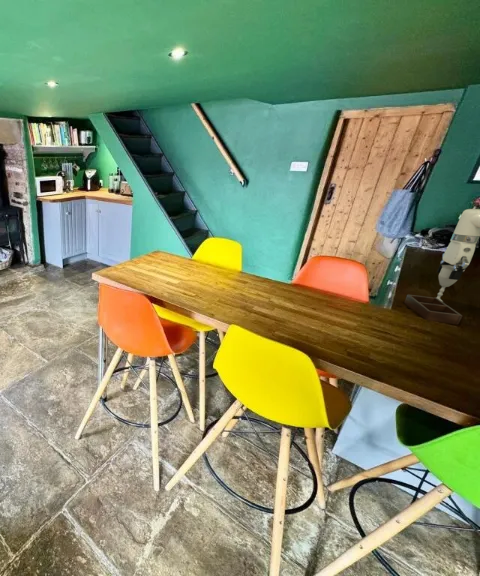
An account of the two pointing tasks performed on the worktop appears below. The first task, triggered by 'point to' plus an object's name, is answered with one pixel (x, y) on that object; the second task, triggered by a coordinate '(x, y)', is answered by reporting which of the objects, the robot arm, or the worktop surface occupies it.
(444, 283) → the chalice
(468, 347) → the worktop surface
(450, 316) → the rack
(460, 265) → the robot arm
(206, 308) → the worktop surface
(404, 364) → the worktop surface
